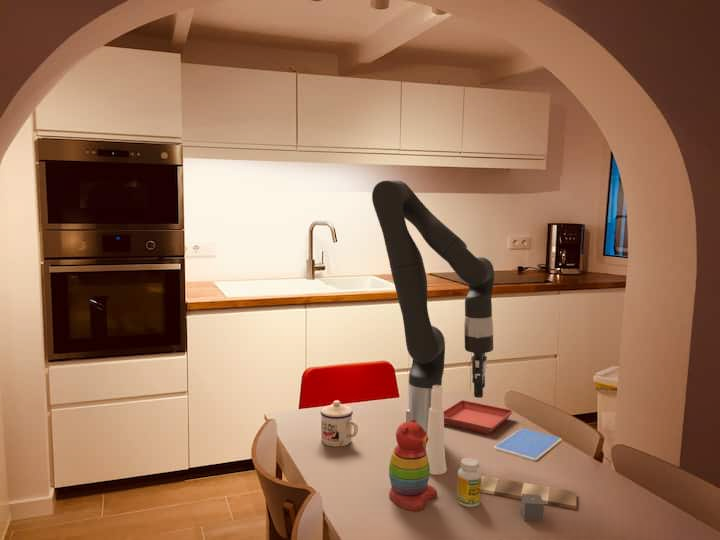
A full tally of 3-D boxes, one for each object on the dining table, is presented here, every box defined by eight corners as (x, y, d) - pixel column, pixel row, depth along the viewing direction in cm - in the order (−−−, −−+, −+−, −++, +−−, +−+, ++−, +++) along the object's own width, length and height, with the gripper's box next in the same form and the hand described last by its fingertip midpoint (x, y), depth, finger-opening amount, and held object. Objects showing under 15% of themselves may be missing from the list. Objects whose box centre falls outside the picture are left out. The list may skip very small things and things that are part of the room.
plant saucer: (436, 424, 181) (436, 414, 181) (461, 408, 196) (461, 399, 196) (491, 438, 171) (492, 427, 171) (513, 420, 186) (514, 410, 186)
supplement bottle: (469, 493, 137) (470, 454, 136) (485, 503, 133) (487, 463, 132) (451, 499, 134) (453, 459, 133) (468, 510, 130) (469, 468, 129)
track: (468, 489, 139) (468, 486, 139) (473, 477, 146) (473, 474, 146) (576, 509, 131) (576, 506, 131) (576, 495, 137) (576, 491, 137)
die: (523, 520, 126) (524, 502, 126) (520, 510, 130) (521, 493, 130) (543, 521, 126) (544, 504, 125) (539, 512, 130) (540, 494, 129)
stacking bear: (419, 513, 128) (421, 435, 126) (379, 501, 134) (380, 425, 132) (439, 493, 137) (442, 420, 135) (401, 482, 143) (403, 411, 141)
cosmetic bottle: (427, 462, 154) (429, 381, 151) (449, 467, 151) (452, 384, 149) (419, 472, 148) (421, 387, 146) (442, 477, 146) (444, 391, 143)
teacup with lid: (313, 441, 166) (313, 402, 165) (334, 432, 174) (334, 394, 172) (346, 453, 159) (347, 411, 158) (366, 442, 166) (367, 402, 165)
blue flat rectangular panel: (521, 430, 178) (521, 426, 178) (562, 441, 170) (562, 437, 170) (492, 451, 163) (492, 446, 163) (536, 463, 155) (536, 459, 155)
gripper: (466, 327, 164) (467, 383, 165) (461, 338, 150) (463, 399, 152) (494, 327, 162) (495, 385, 163) (491, 338, 148) (492, 401, 150)
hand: (479, 392), depth 158 cm, fingers open, 8 cm apart
